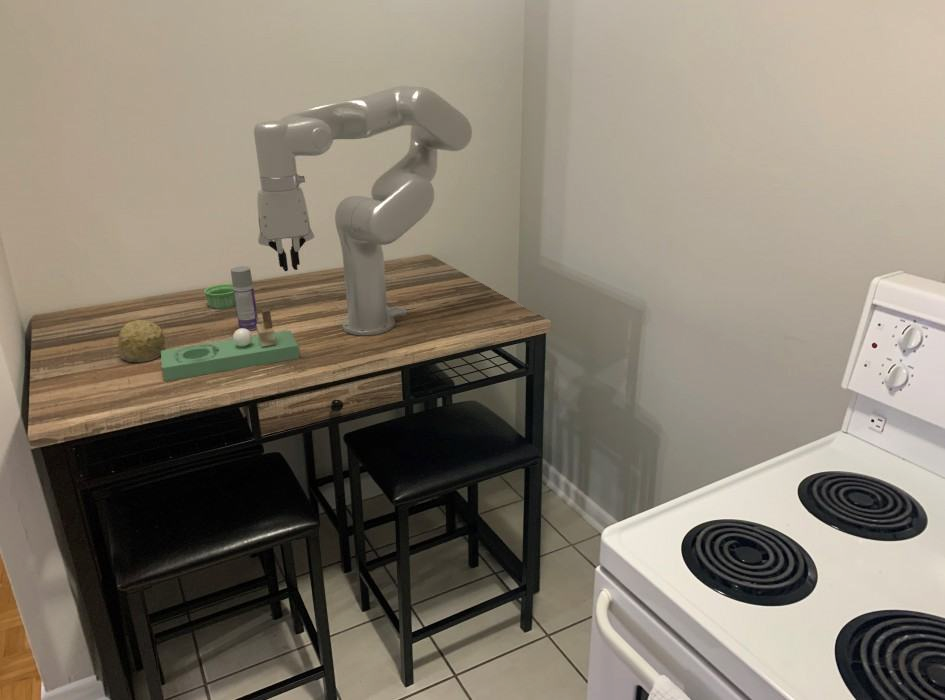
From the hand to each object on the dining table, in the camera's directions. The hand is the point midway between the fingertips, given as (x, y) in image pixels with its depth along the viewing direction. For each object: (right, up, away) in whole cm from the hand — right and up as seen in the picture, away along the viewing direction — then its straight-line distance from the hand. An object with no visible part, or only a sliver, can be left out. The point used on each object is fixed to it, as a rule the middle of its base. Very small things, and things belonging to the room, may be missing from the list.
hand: (290, 268), depth 159 cm
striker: (-6, -16, +4) cm, 17 cm away
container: (-15, -12, +21) cm, 29 cm away
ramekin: (-27, -6, +37) cm, 46 cm away
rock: (-35, -19, +7) cm, 40 cm away
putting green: (-13, -20, +2) cm, 24 cm away
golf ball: (-11, -15, +1) cm, 19 cm away
